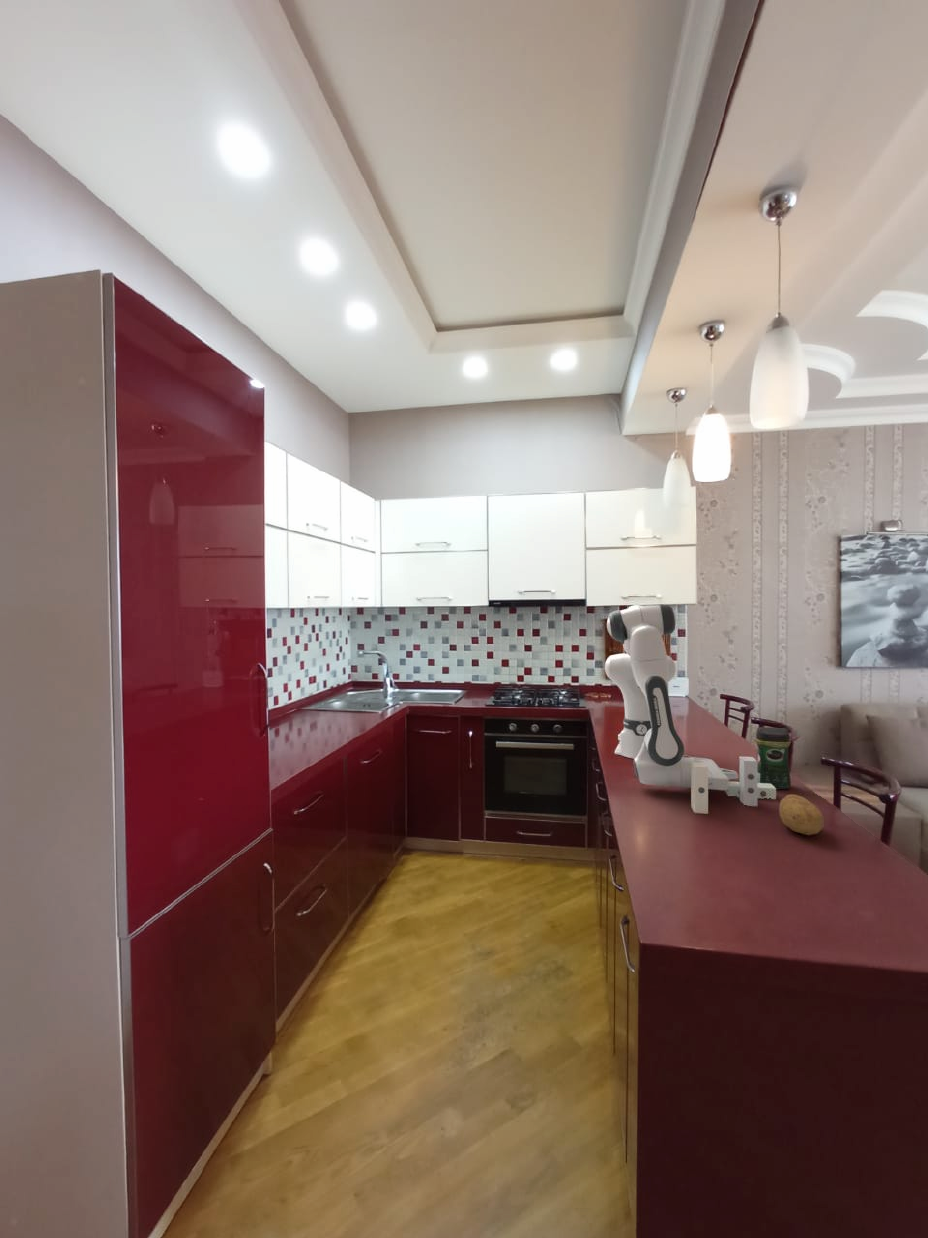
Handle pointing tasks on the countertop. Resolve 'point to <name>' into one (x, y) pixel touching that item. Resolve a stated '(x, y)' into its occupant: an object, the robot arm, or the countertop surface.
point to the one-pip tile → (699, 787)
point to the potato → (801, 815)
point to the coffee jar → (773, 757)
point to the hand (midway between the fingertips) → (737, 774)
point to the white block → (762, 790)
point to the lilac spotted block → (748, 781)
